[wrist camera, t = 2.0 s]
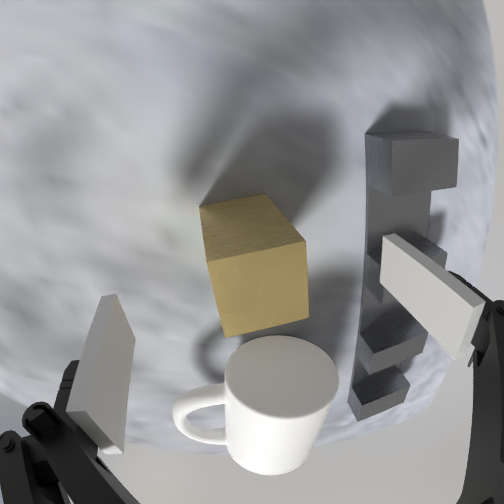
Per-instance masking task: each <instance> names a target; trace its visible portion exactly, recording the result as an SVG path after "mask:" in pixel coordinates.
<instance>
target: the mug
mask: <svg viewBox="0 0 504 504" xmlns="http://www.w3.org/2000/svg"><path fill="white" fill-rule="evenodd" d="M338 385H339V376H338V371H337V368H336V366H335V364H334V362H333V361H332V359H331V358H330V357H329V356H328V355H327V354H326V353H325V352H324V351H323V350H322V349H320V348H319V347H317V346H316V345H314V344H312V343H310V342H308V341H305V340H303V339H299V338H296V337H291V336H281V335H274V336H265V337H260V338H256V339H253V340H251V341H248V342H246V343H245V344H243V345H241V346H240V347H239V348H237V349H236V350H235V351H234V352H233V353H232V355H231V356H230V358H229V359H228V361H227V364H226V367H225V381H224V382H223V383H221V384H214V385H208V386H203V387H199V388H196V389H193V390H190V391H188V392H186V393H184V394H182V395H181V396H180V397H179V398H178V399H177V400H176V401H175V403H174V406H173V419H174V422H175V424H176V426H177V428H178V429H179V430H180V431H181V432H182V433H183V434H185V435H186V436H188V437H190V438H192V439H194V440H196V441H200V442H203V443H209V444H226V446H227V449H228V451H229V453H230V455H231V456H232V458H233V459H234V460H235V461H236V462H237V463H238V464H239V465H240V466H242V467H243V468H245V469H247V470H249V471H252V472H254V473H258V474H263V475H278V474H283V473H287V472H289V471H292V470H294V469H295V468H297V467H299V466H300V465H301V464H302V463H303V462H304V461H305V460H306V459H307V457H308V456H309V454H310V452H311V450H312V448H313V446H314V444H315V442H316V439H317V437H318V435H319V433H320V431H321V428H322V426H323V424H324V421H325V419H326V417H327V414H328V412H329V410H330V407H331V405H332V402H333V400H334V398H335V395H336V392H337V390H338ZM218 404H225V428H223V429H202V428H198V427H195V426H193V425H192V424H191V423H190V422H189V421H188V419H187V417H186V415H187V414H188V413H190V412H191V411H193V410H196V409H199V408H203V407H207V406H212V405H218Z"/></svg>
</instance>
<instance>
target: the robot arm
mask: <svg viewBox="0 0 504 504" xmlns="http://www.w3.org/2000/svg"><path fill="white" fill-rule="evenodd" d="M380 283H381V284H382V285H383V286H384V287H385V288H386V289H387V290H388V291H389V292H390V293H391V294H392V295H393V296H394V297H395V298H396V299H397V300H398V301H399V302H400V303H401V304H402V305H403V306H404V307H405V308H406V309H407V310H408V311H409V312H410V313H411V314H412V316H413V317H414V318H415V319H416V320H417V321H418V322H419V323H420V324H421V325H422V326H423V327H424V328H425V329H426V330H427V331H428V332H429V333H430V334H431V336H432V337H433V338H434V339H435V340H436V341H437V342H438V343H439V344H440V345H441V346H442V347H443V349H444V350H445V351H446V352H447V353H448V354H449V355H450V356H451V357H452V359H453V360H454V361H455V360H457V359H459V358H460V357H462V356H464V355H466V354H467V352H468V349H469V347H470V344H471V343H472V345H474V347H475V349H474V351H473V354H472V356H471V359H470V361H469V363H468V367H470V365H471V363H472V362H473V373H474V374H473V376H474V378H473V386H474V387H473V413H472V428H471V438H470V448H469V455H468V462H467V469H466V476H465V480H464V486H463V491H462V494H461V496H460V498H459V500H458V502H457V503H456V504H504V301H503V300H496V301H494V302H493V301H491V300H490V299H489V298H488V297H486V296H485V295H484V294H483V293H481V292H480V291H479V290H478V289H476V288H475V287H474V286H473V287H472V285H471V284H470V283H469V282H466V280H465V279H464V278H462V277H461V276H460V275H458V274H456V273H453V272H451V271H446V270H445V269H444V268H442V267H441V266H440V265H438V264H437V263H436V262H434V261H433V260H432V259H430V258H429V257H428V256H426V255H425V254H423V253H422V252H421V251H419V250H418V249H416V248H415V247H414V246H412V245H411V244H409V243H408V242H407V241H405V240H404V239H402V238H401V237H399V236H398V235H396V234H395V233H394V234H390V235H386V236H383V244H382V259H381V272H380ZM134 346H135V337H134V334H133V332H132V330H131V328H130V325H129V323H128V321H127V319H126V316H125V314H124V312H123V309H122V307H121V305H120V302H119V300H118V297H117V295H116V294H112V295H107V296H102V297H101V299H100V302H99V305H98V307H97V310H96V313H95V316H94V318H93V321H92V324H91V327H90V330H89V333H88V336H87V339H86V342H85V345H84V348H83V351H82V355H81V358H80V360H75V361H71V363H70V364H69V365H68V367H67V368H66V369H65V371H64V374H63V378H62V382H61V384H60V387H59V388H60V390H59V391H58V394H57V397H56V401H55V404H54V408H52V407H51V406H50V405H49V404H48V403H46V402H36V403H34V404H32V405H31V406H30V407H29V408H27V410H26V411H25V413H24V414H23V418H22V424H23V427H24V428H25V429H26V430H27V431H28V432H29V433H30V434H31V435H29V436H26V437H23V438H21V437H20V436H19V435H18V434H17V433H16V432H15V431H12V430H10V431H6V432H4V433H3V434H1V436H0V486H1V491H2V497H3V501H4V504H71V503H70V500H69V498H68V495H69V497H70V498H71V500H72V501H73V503H74V504H140V503H139V502H138V501H137V500H136V499H135V498H134V497H133V496H132V495H131V494H130V493H129V491H128V490H127V489H126V488H125V487H124V486H123V485H122V484H121V483H120V482H119V481H118V479H117V478H116V477H115V476H114V475H113V473H112V472H111V471H110V470H109V469H108V467H107V466H106V465H105V464H104V462H103V461H102V460H101V459H100V458H99V457H98V456H97V451H98V447H99V448H100V449H101V450H102V451H103V452H104V453H105V454H123V453H124V439H125V425H126V413H127V402H128V393H129V384H130V375H131V367H132V360H133V352H134ZM67 494H68V495H67Z"/></svg>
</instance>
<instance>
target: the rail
mask: <svg viewBox="0 0 504 504" xmlns="http://www.w3.org/2000/svg"><path fill="white" fill-rule="evenodd" d="M458 147H459V139H457V138H453V137H449V136H445V135H441V134H437V133H433V132H398V133H374V134H365V151H366V236H365V258H364V274H363V287H362V299H361V310H360V319H359V328H358V337H357V345H356V352H355V359H354V366H353V373H352V379H351V385H350V391H349V396H348V404H349V406H350V408H351V410H352V412H353V414H354V416H355V417H356V419H357V421H361V420H363V419H366V418H368V417H371V416H373V415H376V414H378V413H381V412H383V411H385V410H387V409H390V408H392V407H394V406H396V405H399V404H401V403H403V402H404V400H405V398H406V395H407V393H408V390H409V388H410V384H409V382H408V381H407V379H406V378H405V377H404V375H403V374H402V372H401V371H400V370H399V366H400V363H401V362H402V361H404V360H407V359H409V358H411V357H414V356H416V355H418V354H420V353H422V352H423V348H424V345H425V342H426V339H427V336H428V331H427V330H426V329H425V328H424V327H423V326H422V325H421V324H420V323H419V322H418V321H417V320H416V319H415V318H414V317H413V316H412V314H411V313H410V312H409V311H408V310H407V309H406V308H405V307H404V306H403V305H402V304H401V303H400V302H399V301H398V300H397V299H396V298H395V297H394V296H393V295H392V294H391V293H390V292H389V291H388V290H387V289H386V288H385V287H384V286H383V285H382V284H381V283H380V272H381V259H382V244H383V236H386V235H390V234H394V233H395V234H396V235H398V236H399V237H401V238H402V239H404V240H405V241H407V242H408V243H409V244H411V245H412V246H414V247H415V248H416V249H418V250H419V251H421V252H422V253H423V254H425V255H426V256H428V257H429V258H430V259H432V260H433V261H434V262H436V263H437V264H438V265H440V266H441V267H442V268H444V269H445V264H446V259H447V252H445V251H444V250H443V249H441V248H440V247H438V246H437V245H435V244H434V243H433V242H431V241H430V240H428V239H427V231H428V223H429V213H430V202H431V191H433V190H439V189H446V188H453V187H456V184H457V170H458Z"/></svg>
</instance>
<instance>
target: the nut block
mask: <svg viewBox="0 0 504 504" xmlns="http://www.w3.org/2000/svg"><path fill="white" fill-rule="evenodd" d="M199 211H200V218H201V226H202V233H203V240H204V247H205V254H206V261H207V266H208V270H209V274H210V278H211V283H212V287H213V291H214V295H215V299H216V303H217V307H218V311H219V316H220V319H221V323H222V327H223V331H224V335H225V338H226V337H231V336H236V335H240V334H245V333H249V332H253V331H258V330H262V329H266V328H270V327H274V326H278V325H282V324H286V323H290V322H294V321H298V320H302V319H306V318H309V299H308V273H307V253H306V241H305V239H304V238H303V237H302V236H301V235H300V234H299V232H298V231H297V230H296V229H295V228H294V227H293V225H292V224H291V223H290V222H289V221H288V220H287V218H286V217H285V216H284V215H283V214H282V213H281V212H280V210H279V209H278V208H277V207H276V206H275V205H274V204H273V202H272V201H271V200H270V199H269V198H268V197H267V196H266V194H261V195H255V196H250V197H245V198H239V199H234V200H229V201H224V202H219V203H214V204H209V205H204V206H199Z"/></svg>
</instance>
